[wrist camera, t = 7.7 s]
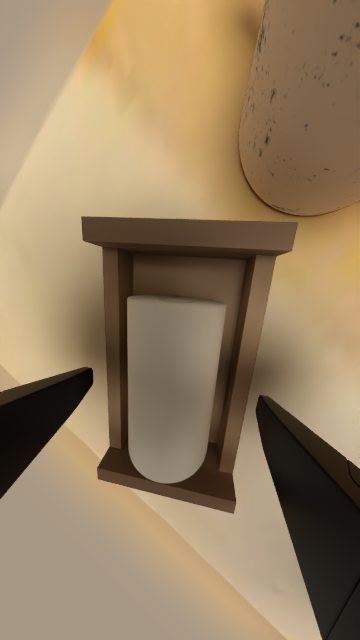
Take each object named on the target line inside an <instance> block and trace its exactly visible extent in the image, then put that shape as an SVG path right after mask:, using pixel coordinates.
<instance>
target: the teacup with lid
mask: <svg viewBox="0 0 360 640" xmlns="http://www.w3.org/2000/svg"><path fill="white" fill-rule="evenodd" d="M239 153H240V159H241V163H242V167H243V170H244V173H245V176H246V178H247V180H248V182H249V184H250V185H251V187H252V189H253V190H254V191H255V193H256V194H257V195H258V196H259V197H260V198H261V199H262V200H263V201H264V202H266V203H267V204H268V205H270V206H272V207H273V208H275V209H277V210H280V211H282V212H285V213H289V214H294V215H303V216H309V215H320V214H325V213H329V212H333V211H336V210H339V209H341V208H344V207H346V206H349V205H351V204H353V203H355V202H357V201H359V200H360V0H265V5H264V9H263V14H262V19H261V24H260V29H259V33H258V38H257V43H256V48H255V52H254V57H253V62H252V67H251V72H250V76H249V81H248V86H247V91H246V95H245V100H244V105H243V110H242V115H241V120H240V129H239Z"/></svg>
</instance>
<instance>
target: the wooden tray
mask: <svg viewBox="0 0 360 640" xmlns="http://www.w3.org/2000/svg"><path fill="white" fill-rule="evenodd" d="M81 219H82V235H83V241H85V242H89V243H92V244H95V245H98V246H101V247H102V249H103V276H104V303H105V331H106V358H107V385H108V412H109V439H110V447H109V449H108V450H107V452H106V454H105V456H104V457H103V459H102V461H101V462H100V464H99V466H98V467H97V472H98V479H100V480H103V481H107V482H111V483H115V484H119V485H123V486H127V487H131V488H135V489H138V490H142V491H146V492H150V493H154V494H158V495H162V496H166V497H170V498H174V499H178V500H182V501H185V502H189V503H193V504H197V505H201V506H205V507H209V508H213V509H217V510H221V511H225V512H229V513H232V514H234V510H235V506H236V497H235V489H234V482H233V469H234V464H235V459H236V454H237V449H238V444H239V439H240V434H241V429H242V424H243V419H244V414H245V409H246V404H247V399H248V394H249V389H250V384H251V379H252V374H253V370H254V365H255V360H256V355H257V350H258V345H259V340H260V335H261V330H262V325H263V320H264V315H265V310H266V305H267V300H268V295H269V290H270V285H271V280H272V275H273V270H274V265H275V260H276V256H278V255H281V254H284V253H287V252H290V251H292V247H293V243H294V238H295V234H296V229H297V225H298V223H297V222H261V221H225V220H189V219H153V218H117V217H81ZM136 295H180V296H191V297H199V298H206V299H212V300H216V301H220V302H223V303H225V304H226V305H227V306H226V313H225V321H224V328H223V335H222V343H221V350H220V357H219V365H218V372H217V379H216V387H215V394H214V401H213V409H212V416H211V423H210V431H209V438H208V445H207V452H206V456H205V459H204V461H203V463H202V465H201V466H200V468H199V469H198V470H197V471H196V472H195V473H194V474H193V475H192V476H190V477H189V478H187V479H185V480H183V481H180V482H176V483H159V482H155V481H152V480H150V479H148V478H146V477H145V476H143V475H142V474H141V473H140V472H139V471H138V470H137V469H136V468H135V466H134V465H133V463H132V461H131V458H130V455H129V447H128V343H127V298H128V297H130V296H136Z"/></svg>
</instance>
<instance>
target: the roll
mask: <svg viewBox="0 0 360 640" xmlns="http://www.w3.org/2000/svg"><path fill="white" fill-rule="evenodd" d="M226 306H227V305H226V304H225V303H223V302H220V301H216V300H212V299H206V298H199V297H191V296H180V295H136V296H130V297H128V298H127V343H128V447H129V455H130V458H131V461H132V463H133V465H134V466H135V468H136V469H137V470H138V471H139V472H140V473H141V474H142V475H143V476H145V477H146V478H148V479H150V480H152V481H155V482H159V483H176V482H180V481H183V480H185V479H187V478H189V477H190V476H192V475H193V474H194V473H195V472H196V471H197V470H198V469H199V468H200V466H201V465H202V463H203V461H204V459H205V456H206V452H207V445H208V438H209V431H210V423H211V416H212V409H213V401H214V394H215V387H216V379H217V372H218V365H219V357H220V350H221V343H222V335H223V328H224V321H225V313H226Z"/></svg>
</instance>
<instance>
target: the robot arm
mask: <svg viewBox="0 0 360 640" xmlns="http://www.w3.org/2000/svg"><path fill="white" fill-rule="evenodd" d="M92 384H93V370H92V368H88V367H83V368H80V369H76V370H73V371H69V372H66V373H62V374H59V375H56V376H52V377H49V378H45V379H42V380H39V381H35V382H32V383H28V384H25V385H22V386H18V387H15V388H11V389H8V390H5V391H2V392H0V499H1V498H2V497H3V495H4V494H5V493H6V492H7V490H8V489H9V488H10V487H11V486H12V485H13V483H14V482H15V481H16V480H17V478H18V477H19V476H20V475H21V474H22V473H23V471H24V470H25V469H26V468H27V467H28V465H29V464H30V463H31V462H32V461H33V460H34V458H35V457H36V456H37V455H38V454H39V452H40V451H41V450H42V449H43V447H44V446H45V445H46V444H47V443H48V442H49V440H50V439H51V438H52V437H53V436H54V434H55V433H56V432H57V431H58V430H59V428H60V427H61V426H62V425H63V424H64V422H65V421H66V420H67V419H68V418H69V416H70V415H71V414H72V413H73V412H74V410H75V409H76V408H77V406H78V405H79V403H80V402H81V400H82V399H83V398H84V396H85V395H86V393H87V392H88V390H89V389H90V388H91V386H92ZM256 417H257V422H258V427H259V432H260V437H261V442H262V446H263V450H264V453H265V457H266V460H267V463H268V466H269V469H270V473H271V476H272V479H273V482H274V486H275V489H276V492H277V495H278V498H279V502H280V505H281V508H282V511H283V514H284V518H285V521H286V524H287V527H288V531H289V534H290V537H291V540H292V543H293V547H294V550H295V553H296V556H297V560H298V563H299V566H300V569H301V572H302V576H303V579H304V582H305V585H306V589H307V592H308V595H309V598H310V601H311V605H312V608H313V611H314V614H315V618H316V621H317V624H318V627H319V630H320V634H321V637H322V640H360V469H359V468H358V467H357V466H356V465H354V464H353V463H352V462H351V461H349V460H347V459H346V457H344V456H343V455H342V454H340V453H339V452H338V451H337V450H335V449H334V448H333V447H332V446H330V445H329V444H328V443H327V442H325V441H324V440H323V439H322V438H320V437H319V436H318V435H317V434H315V433H314V432H313V431H311V430H310V429H309V428H308V427H306V426H305V425H304V424H303V423H301V422H300V421H299V420H298V419H296V418H295V417H294V416H293V415H291V414H290V413H289V412H288V411H286V410H285V409H284V408H282V407H281V406H280V405H279V404H277V403H276V402H275V401H274V400H272V399H271V398H270V397H268V396H263V395H260V396H259V397H258V402H257V406H256Z"/></svg>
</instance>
